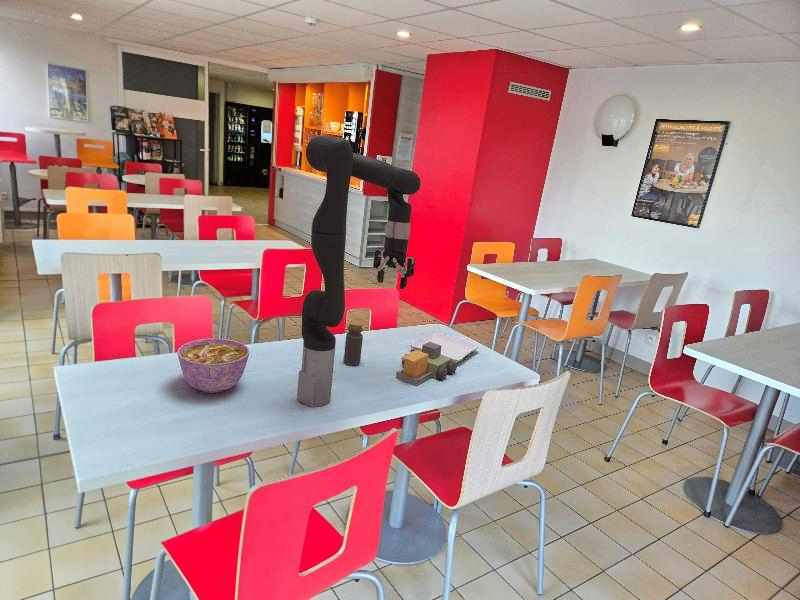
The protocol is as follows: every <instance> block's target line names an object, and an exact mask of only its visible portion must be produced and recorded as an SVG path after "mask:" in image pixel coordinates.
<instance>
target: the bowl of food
mask: <svg viewBox="0 0 800 600" xmlns="http://www.w3.org/2000/svg"><path fill="white" fill-rule="evenodd" d="M250 353H251V351H250V348H249V347H248V346H247V345H246V344H244V343H242V342H239V341H237V340H233V339H226V338H203V339H197V340H192V341H189V342H186V343H185V344H182V345H181V346H179V348H178V349H177V358H178V361H179V365H180V369H181V372H182V376H183V378H184V380H185V381H186V382H187V384H188V385H189V386H190V387H192V388H194V389H196V390H198V391H201V390H202V391H201V392H204V391H205V392H204V393H209V392H211V393H213V392H216V393H220V392H221V393H222V392H224V391H225V390H228V389H231V388H233V387H234V386H236V385H237V384H238V383H239V382H240V380H241V379H242V377H243V375H244V372H245V369H246V366H247V363H248V360H249V356H250ZM223 390H224V391H223ZM211 393H210V394H211Z"/></svg>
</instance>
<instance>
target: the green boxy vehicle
mask: <svg viewBox="0 0 800 600" xmlns="http://www.w3.org/2000/svg"><path fill="white" fill-rule="evenodd" d="M441 347H442V346H441V345H438V344H435V343H432V342H428V343H426V344H423V345H422V349H421V350H418V349H416V350H418V351H420V352H423V353H426V354H429V355H428V362H427V369H426V374H425V375H423V376H421V377H420V378H418V379H416V378H413V377H410V376H408V375H405V374H403V370H404V368H402V369H400V370H398V371H396V372H395V379H398V380H400V379H401V380H400V381H403V382H405V381H406V383H408V384H411V385H412V386H416V387H418V386H419V384H420V385H421V384H423V383H425V382H426V380H427V381H428V380H430V379H435V380H437V379H438V380H440V381H444V380H445V379H446V377H447V375H448V374H449V375H454V374H455V373H456V371H457V368H458V362H457V363H455V362H452V358H449V357H446V356H443V355H441ZM407 354H408V353H406V354H404V355H403V356H405V355H407ZM404 362H405V360H402V359H401V365H402V366H403V367H404Z"/></svg>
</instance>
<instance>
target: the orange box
mask: <svg viewBox="0 0 800 600" xmlns="http://www.w3.org/2000/svg"><path fill="white" fill-rule="evenodd" d="M406 354H407V355H405V354H404V355H405V356H404V355H403V356H401V357H400V359H401V361H402V360H405V362H404V366H403V369H404V370H403V374H405V375H408V376H410V377H413V378H416V379H418V378H420V377H421V376H423V375H425V374H426V369H427V362H428V355H429V354H426V353H423V352H420V351H418V350H413V351H411V352H409V353H406Z"/></svg>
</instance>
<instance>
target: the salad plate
mask: <svg viewBox="0 0 800 600" xmlns="http://www.w3.org/2000/svg"><path fill="white" fill-rule="evenodd" d="M428 342H432V343H435V344H438V345H441V346H442V347H441V355H443V356H446V357H449V358H452V362H455V363H457V364H458V363H459V362H461V361H462V360H463V359H464V358H466V356H468V355H470V354H472V353H473V352H474V351H476V350H477V349H478V348H479V345H478V344H474V343H471V342H469V341H466V340H462V339H459V338H456V337H452V336H450V335H446V334H442V333H440V332H439V333H438V332H435V331H433V332H430V333H428V334H427V335H425V336H423V337H420V338H419V339H417V340H415V341H413V342H412V343H410V344H409V346H410V347H411V349H412V350H413V351H415V350H416V349H418V350H421V349H422V345H423V344H426V343H428Z"/></svg>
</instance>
